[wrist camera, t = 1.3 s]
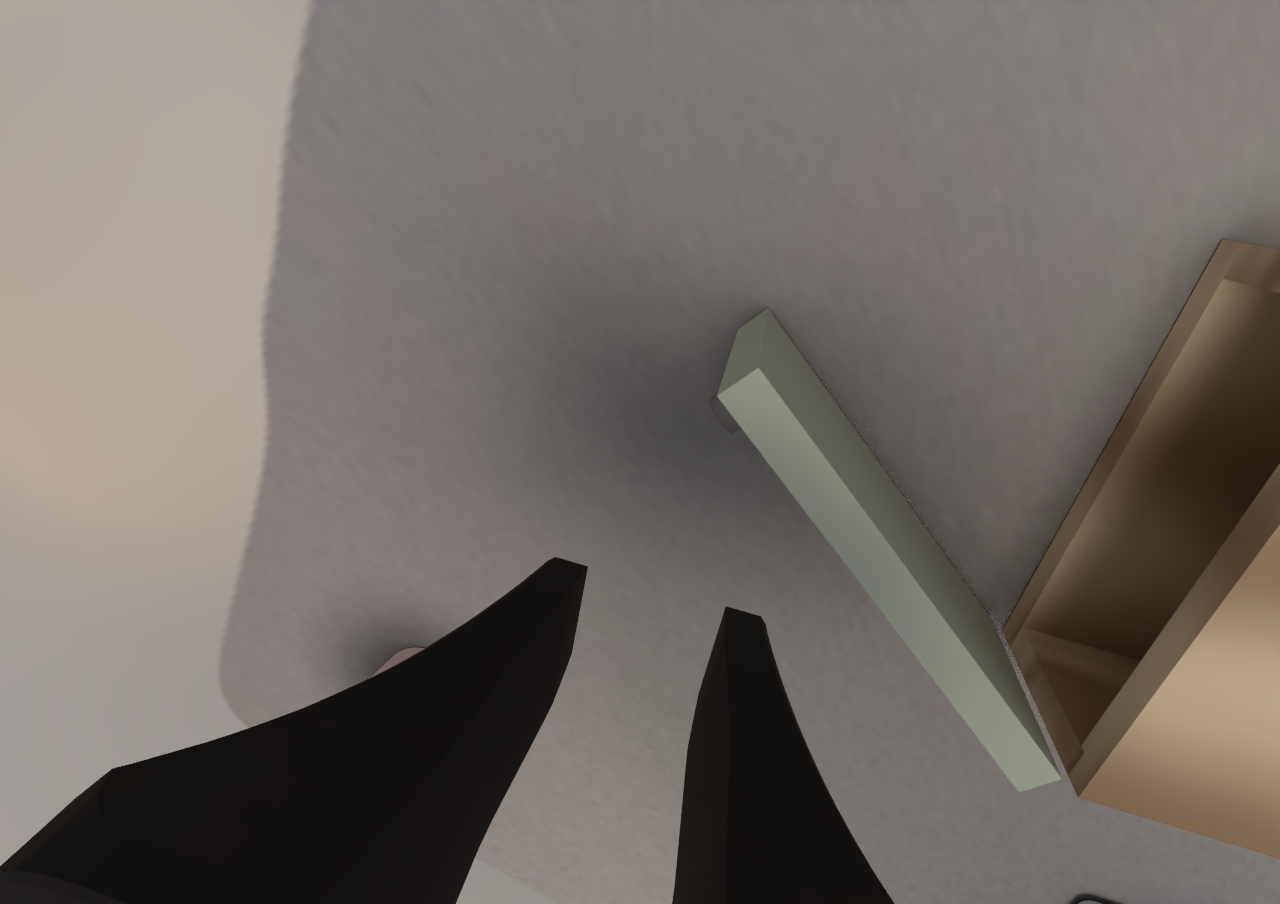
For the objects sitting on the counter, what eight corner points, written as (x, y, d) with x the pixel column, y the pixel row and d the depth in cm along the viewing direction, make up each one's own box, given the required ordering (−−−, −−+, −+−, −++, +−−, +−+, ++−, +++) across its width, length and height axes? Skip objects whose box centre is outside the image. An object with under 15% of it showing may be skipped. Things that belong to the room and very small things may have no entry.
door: (992, 620, 20) (1062, 779, 15) (934, 644, 21) (981, 803, 16) (768, 308, 18) (758, 367, 13) (711, 347, 18) (681, 419, 13)
